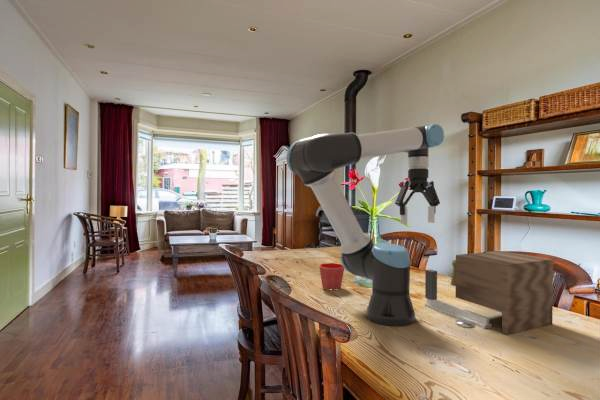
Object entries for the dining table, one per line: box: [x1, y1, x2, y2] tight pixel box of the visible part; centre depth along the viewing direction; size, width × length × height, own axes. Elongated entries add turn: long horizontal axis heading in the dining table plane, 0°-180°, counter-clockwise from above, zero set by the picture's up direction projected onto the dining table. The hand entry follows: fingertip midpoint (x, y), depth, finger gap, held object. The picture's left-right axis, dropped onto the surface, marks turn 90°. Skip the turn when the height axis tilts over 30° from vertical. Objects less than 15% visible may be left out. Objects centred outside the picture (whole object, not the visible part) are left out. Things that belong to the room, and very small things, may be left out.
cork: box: [450, 259, 456, 287], centre depth 158 cm, size 6×6×11 cm
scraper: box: [424, 269, 492, 329], centre depth 117 cm, size 3×24×13 cm, turn 25°
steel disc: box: [455, 319, 474, 329], centre depth 109 cm, size 5×5×1 cm
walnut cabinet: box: [455, 250, 554, 336], centre depth 113 cm, size 21×18×20 cm
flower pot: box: [319, 262, 345, 291], centre depth 152 cm, size 11×11×10 cm
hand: (417, 223), depth 139 cm, fingers open, 13 cm apart
